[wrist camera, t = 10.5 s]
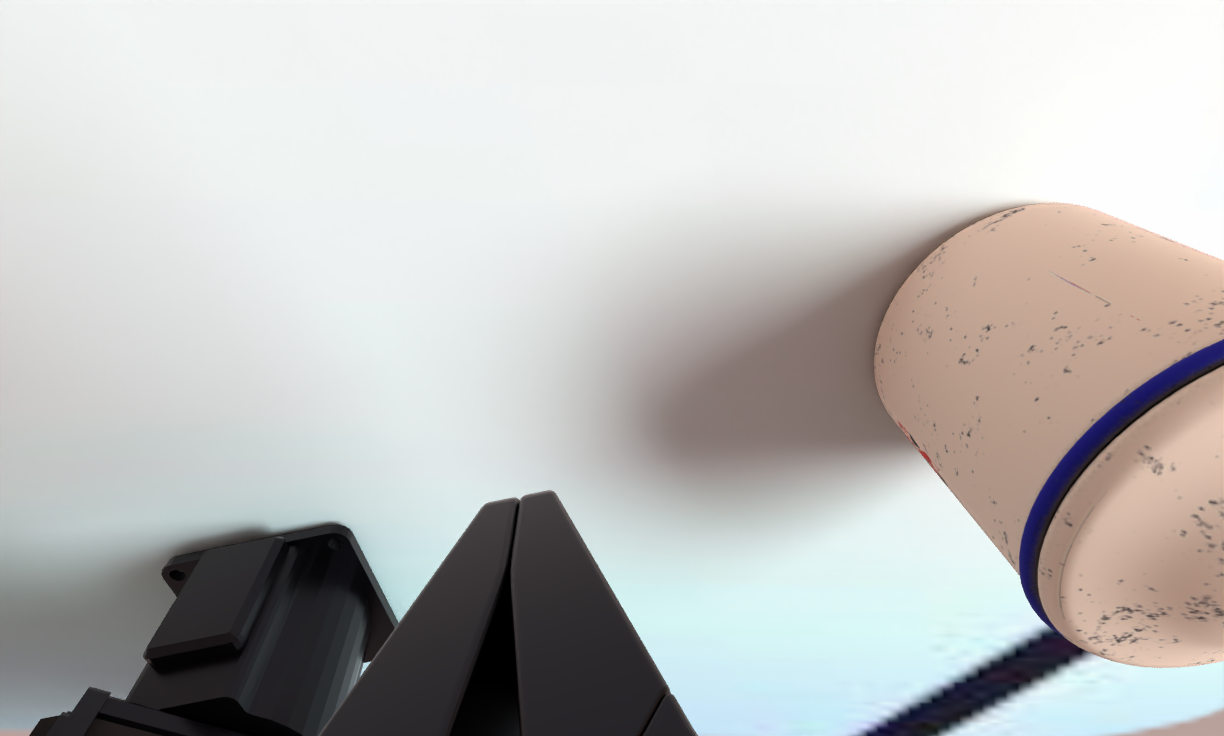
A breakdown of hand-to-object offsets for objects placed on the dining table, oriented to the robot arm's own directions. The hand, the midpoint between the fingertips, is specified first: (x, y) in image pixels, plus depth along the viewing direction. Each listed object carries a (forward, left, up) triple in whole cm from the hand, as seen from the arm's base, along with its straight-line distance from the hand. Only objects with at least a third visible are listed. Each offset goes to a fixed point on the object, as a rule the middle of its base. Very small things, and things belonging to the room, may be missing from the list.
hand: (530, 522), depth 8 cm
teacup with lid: (-7, -15, -12) cm, 21 cm away
